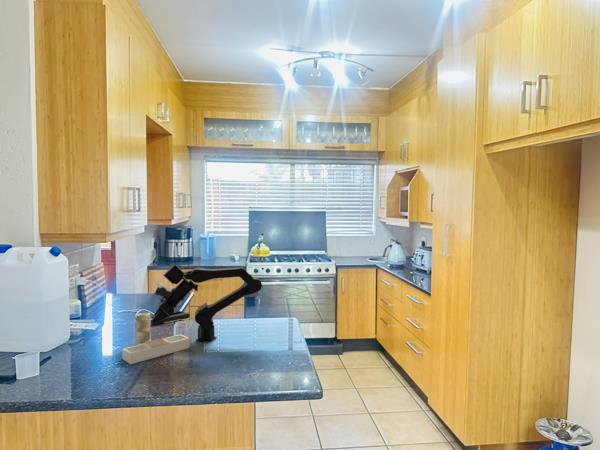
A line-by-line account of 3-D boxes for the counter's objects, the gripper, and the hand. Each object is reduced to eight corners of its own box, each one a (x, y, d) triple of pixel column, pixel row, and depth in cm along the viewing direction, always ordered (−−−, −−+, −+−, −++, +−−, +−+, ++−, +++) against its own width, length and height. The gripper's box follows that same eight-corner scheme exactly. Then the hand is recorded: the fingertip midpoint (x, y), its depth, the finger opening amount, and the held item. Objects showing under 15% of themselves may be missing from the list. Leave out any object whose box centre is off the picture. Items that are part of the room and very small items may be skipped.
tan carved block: (150, 342, 169) (150, 312, 168) (149, 345, 165) (149, 315, 165) (138, 343, 168) (137, 313, 167) (136, 347, 164) (136, 315, 163)
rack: (180, 343, 168) (180, 333, 168) (189, 347, 163) (189, 337, 163) (122, 358, 151) (122, 347, 151) (130, 364, 146) (130, 352, 146)
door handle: (141, 315, 204) (153, 320, 192) (178, 308, 217) (191, 312, 205) (141, 321, 204) (153, 327, 192) (178, 314, 217) (192, 319, 205)
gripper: (168, 275, 177) (141, 301, 174) (165, 283, 159) (136, 312, 156) (186, 291, 179) (160, 317, 177) (186, 301, 161) (157, 330, 159)
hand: (153, 318), depth 167 cm, fingers open, 9 cm apart
